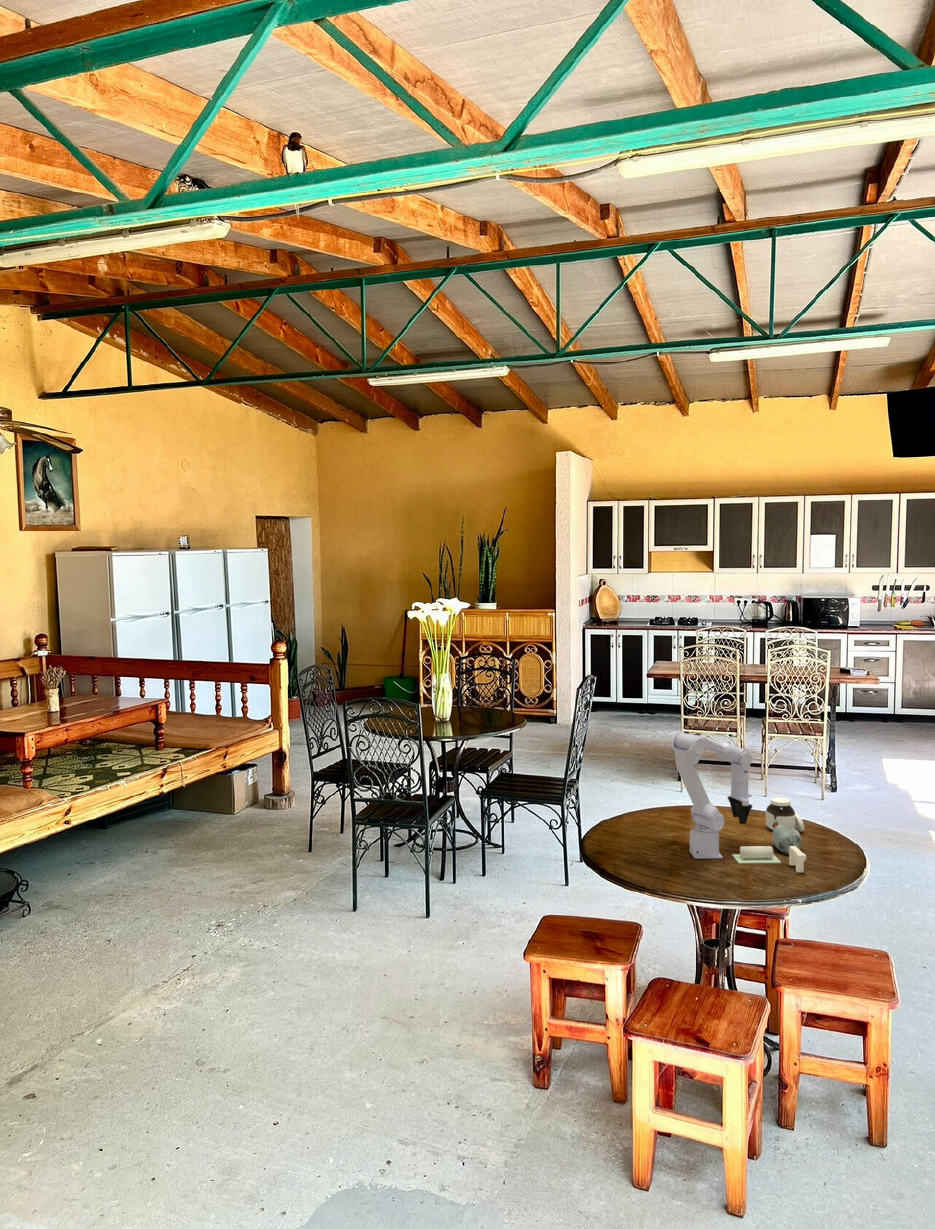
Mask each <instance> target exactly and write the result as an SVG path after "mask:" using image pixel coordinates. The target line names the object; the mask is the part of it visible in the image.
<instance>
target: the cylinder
mask: <svg viewBox="0 0 935 1229" xmlns="http://www.w3.org/2000/svg"><path fill="white" fill-rule="evenodd" d="M739 854H740V856H741V858H742V859H772V858H773V854H774V848H773V846H770V845H768V846H767V845H766V846H765V845H762V846H760V845H759V846H757V845H756V846H749V845H747V846H746V845H744V846H743V845H742V846H741V845H740V847H739Z"/></svg>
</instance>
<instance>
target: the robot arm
mask: <svg viewBox="0 0 935 1229" xmlns="http://www.w3.org/2000/svg"><path fill="white" fill-rule="evenodd" d="M671 748H672V750H673V753H674V755H675V758H674V759H675V766H676V769H677V771H678V773H679V775H680V778H681V781H682V783H683V784H684V787H685V789H686V791H687V793H688V796H689V798H690V800H691V803H692V804H693V806H692V807H691V808H690V812H691V819H692V820H691V821H692V822H693V824H695V828H693V829H690V831H689V853H690V854H691V855H692V857H693V859H724V858H723V855H722V854H721V853H720V832H721V831H722V829H723V827H724V825H725V817H724V815H723V813H721V812H720V811H719V809H718V808H717V807H716V806H715V805H714V804H713V803H712V802H710V798H709V797H708V794H707V791H706V789H705V788H704V785H703V783H702V781H701V778H700V775H699V774H698V771H697V768H696V767H695V765H698V763H699V761H700V760H701V758H702V756H703V754H704V753H705V752H707V750H709V751H712V752H715V754H716V756H717V757H718V758H721V759H722V760H725V761H728V762H729V763H730V765H731V766H730V767H731V769H730V772H731V774H730V778H731V779H730V780H731V782H730V784H731V785H730V788H731V789H730V795H728V796H727V797H726V798H727V799H728V800H727V801H729V804H730V808H731V809H730V810H731V814H732V817H733V818H737V819H738V823H739V824H740V825H746V824H747V822H748V819H749V818H748V817H749V814H750V811H751V810H752V808H753V805H752V804H750V801H749V798H752V797H753V796H752V794H751V793H749V771H750V769H751V764H752V761H753V756H752V752H750V750H748V749H746V748H741V746H740V745H737V744H735V745H734V744H732V742H731V741H730V740H725V741H720V742H717V741H715V740H713V739H711V738H709V737H706V736H703V735H699V734H698V735H697V734H691V733H686V732H683V731H679V732H677V733H676V734H675V735H674V738H673V740H672V742H671Z"/></svg>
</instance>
